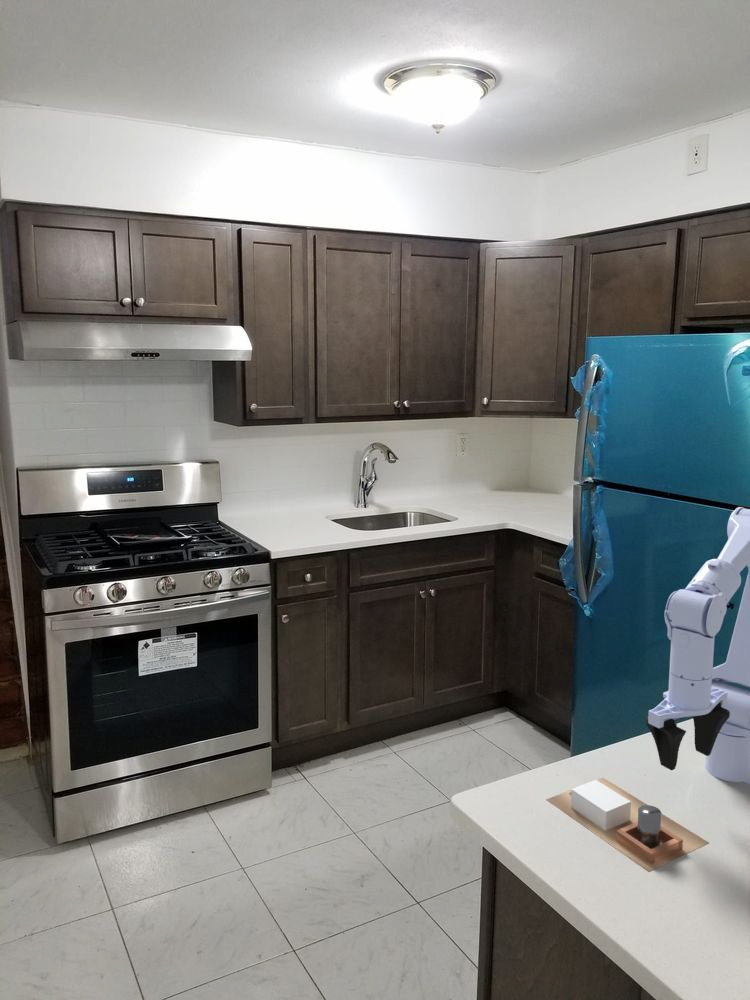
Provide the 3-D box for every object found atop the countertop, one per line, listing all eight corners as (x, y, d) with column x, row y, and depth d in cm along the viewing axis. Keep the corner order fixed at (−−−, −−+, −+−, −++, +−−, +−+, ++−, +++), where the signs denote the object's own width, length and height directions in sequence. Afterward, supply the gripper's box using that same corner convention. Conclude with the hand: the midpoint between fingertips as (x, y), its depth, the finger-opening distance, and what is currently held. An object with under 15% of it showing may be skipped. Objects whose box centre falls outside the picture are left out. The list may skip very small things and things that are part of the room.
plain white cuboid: (595, 797, 123) (595, 779, 122) (630, 820, 117) (631, 801, 116) (570, 807, 120) (571, 789, 120) (605, 830, 114) (606, 811, 114)
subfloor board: (602, 783, 128) (603, 769, 128) (708, 849, 111) (709, 832, 111) (545, 805, 122) (546, 790, 122) (648, 878, 105) (649, 861, 105)
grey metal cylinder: (664, 847, 110) (665, 814, 109) (646, 852, 109) (647, 819, 108) (650, 835, 113) (651, 803, 112) (632, 840, 112) (633, 807, 111)
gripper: (700, 653, 121) (695, 735, 124) (633, 674, 114) (629, 761, 117) (742, 669, 115) (735, 755, 118) (673, 691, 108) (668, 783, 111)
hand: (685, 759), depth 117 cm, fingers open, 7 cm apart
